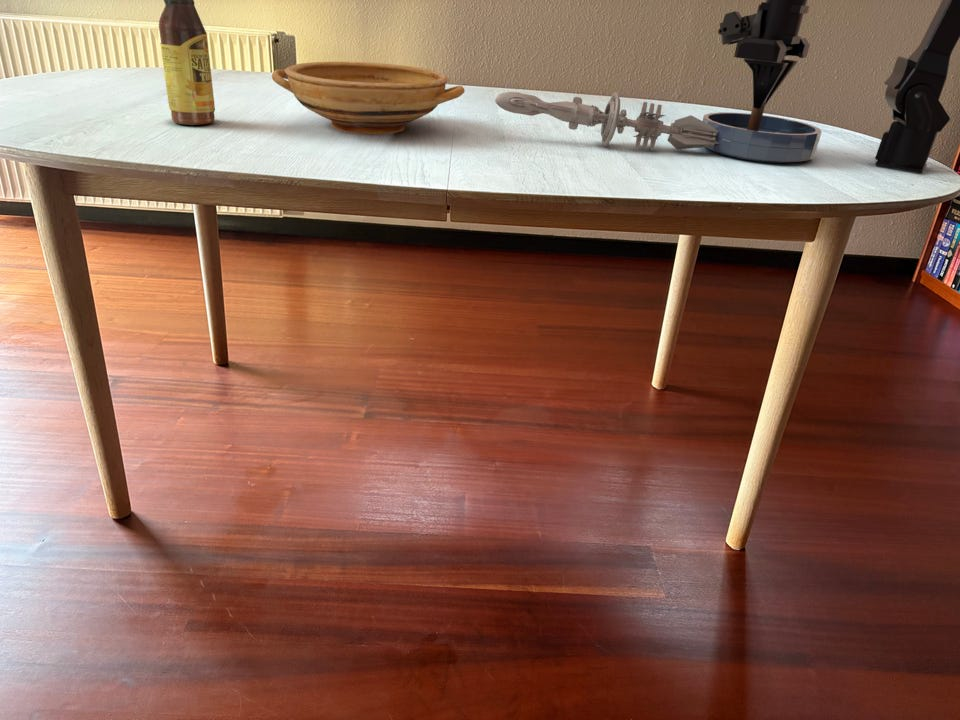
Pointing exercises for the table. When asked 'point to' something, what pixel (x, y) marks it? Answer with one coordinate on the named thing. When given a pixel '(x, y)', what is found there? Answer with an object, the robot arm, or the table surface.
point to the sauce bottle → (186, 64)
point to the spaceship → (615, 120)
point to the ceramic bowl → (366, 93)
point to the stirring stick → (756, 118)
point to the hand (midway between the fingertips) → (758, 107)
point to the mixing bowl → (763, 138)
